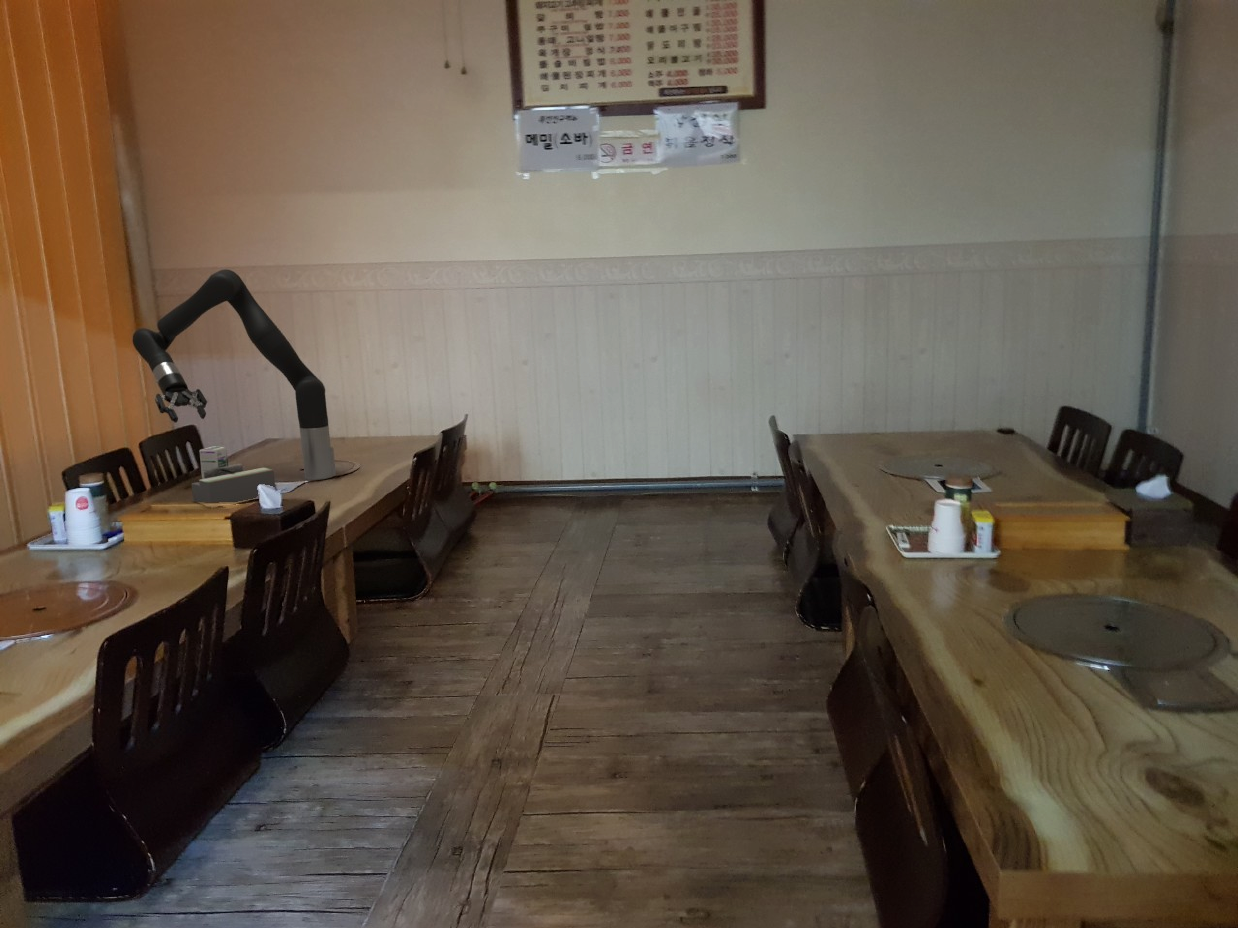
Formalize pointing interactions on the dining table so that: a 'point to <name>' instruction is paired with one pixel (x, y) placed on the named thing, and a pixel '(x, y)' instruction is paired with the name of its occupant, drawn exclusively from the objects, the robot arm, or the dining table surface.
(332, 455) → the robot arm
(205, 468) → the syrup box
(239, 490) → the block
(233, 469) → the gauge pad
